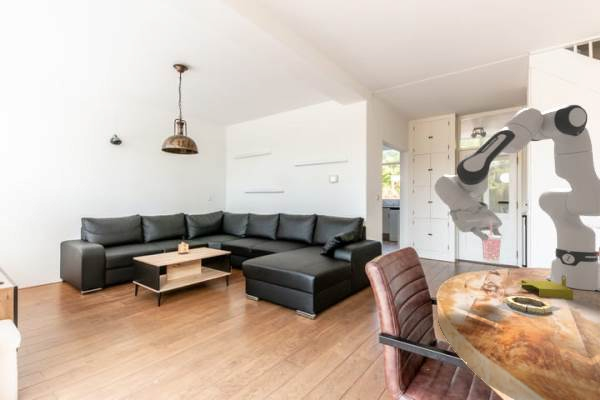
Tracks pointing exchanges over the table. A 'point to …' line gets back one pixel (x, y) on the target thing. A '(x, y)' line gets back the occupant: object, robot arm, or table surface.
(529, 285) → the bracket
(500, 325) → the table surface
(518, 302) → the board
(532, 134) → the robot arm
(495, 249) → the beverage cup
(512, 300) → the socket
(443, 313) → the table surface
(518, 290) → the table surface
